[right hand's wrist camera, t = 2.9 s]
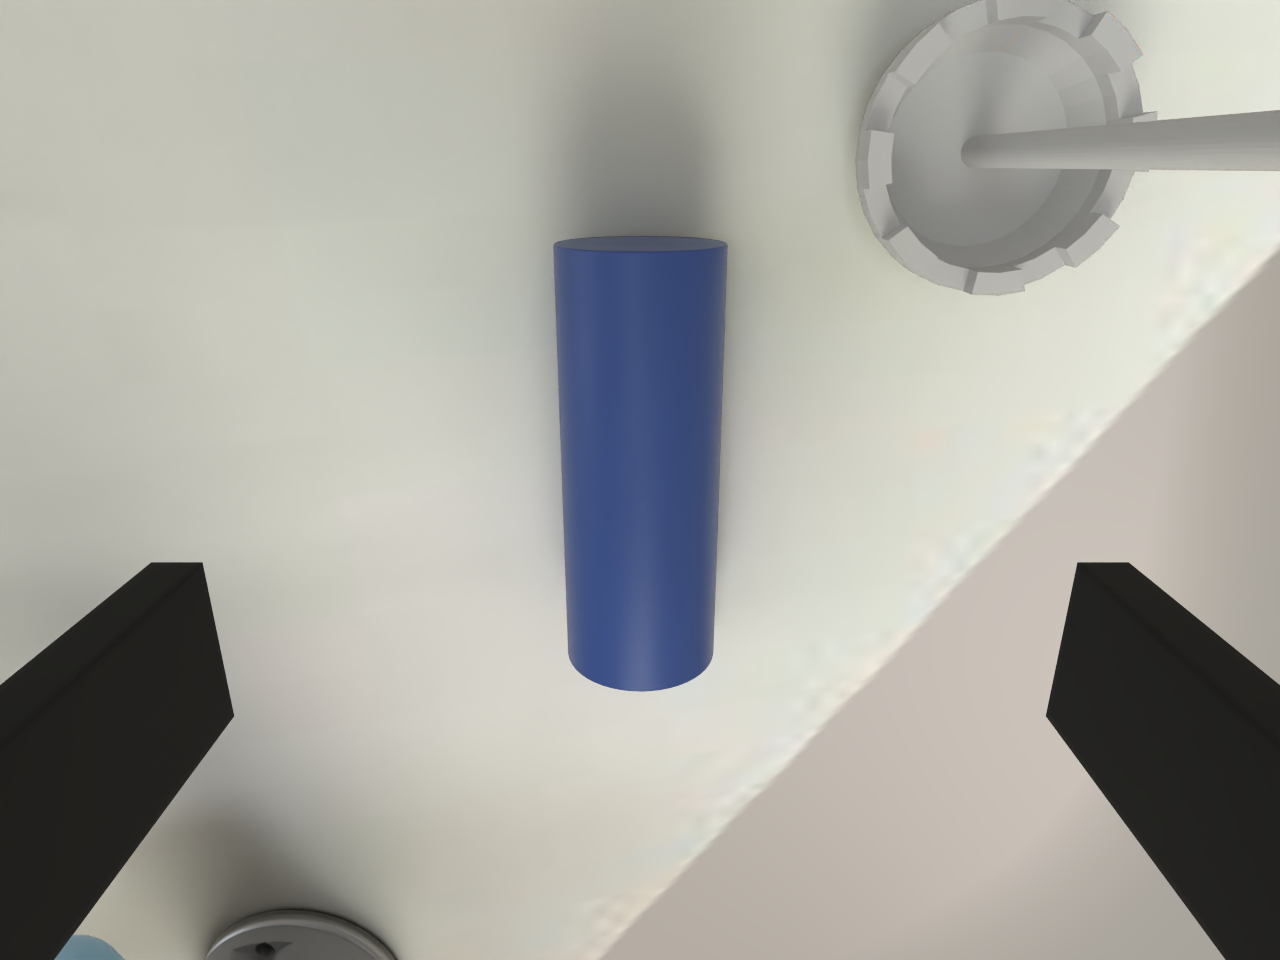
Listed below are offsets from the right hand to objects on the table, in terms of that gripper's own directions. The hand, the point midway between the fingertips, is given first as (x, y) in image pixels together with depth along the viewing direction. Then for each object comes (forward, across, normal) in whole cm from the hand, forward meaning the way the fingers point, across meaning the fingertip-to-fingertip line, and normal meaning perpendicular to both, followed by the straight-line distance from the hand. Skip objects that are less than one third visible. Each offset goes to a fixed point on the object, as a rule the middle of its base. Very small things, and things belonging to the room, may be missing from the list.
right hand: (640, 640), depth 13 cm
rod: (+35, 0, -8) cm, 36 cm away
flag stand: (+35, +17, +7) cm, 40 cm away
